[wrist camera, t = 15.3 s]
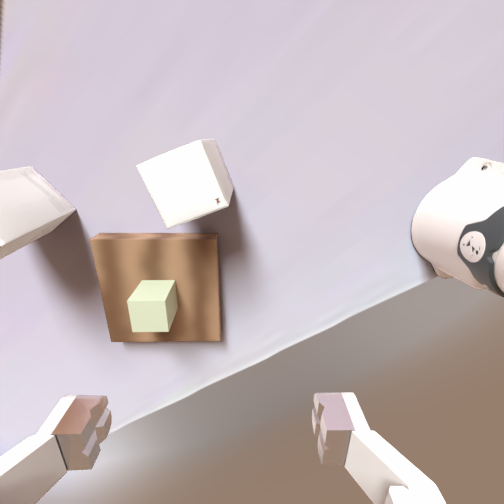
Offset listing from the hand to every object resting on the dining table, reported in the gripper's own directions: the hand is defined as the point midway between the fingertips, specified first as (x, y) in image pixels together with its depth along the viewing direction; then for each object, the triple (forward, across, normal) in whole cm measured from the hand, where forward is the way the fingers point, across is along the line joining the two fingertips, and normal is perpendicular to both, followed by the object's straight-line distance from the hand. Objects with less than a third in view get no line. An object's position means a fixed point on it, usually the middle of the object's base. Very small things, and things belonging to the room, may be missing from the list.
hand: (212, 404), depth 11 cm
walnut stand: (+34, +12, +13) cm, 38 cm away
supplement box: (+34, +5, -5) cm, 35 cm away
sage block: (+31, +12, +13) cm, 36 cm away
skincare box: (+34, +28, -1) cm, 44 cm away
